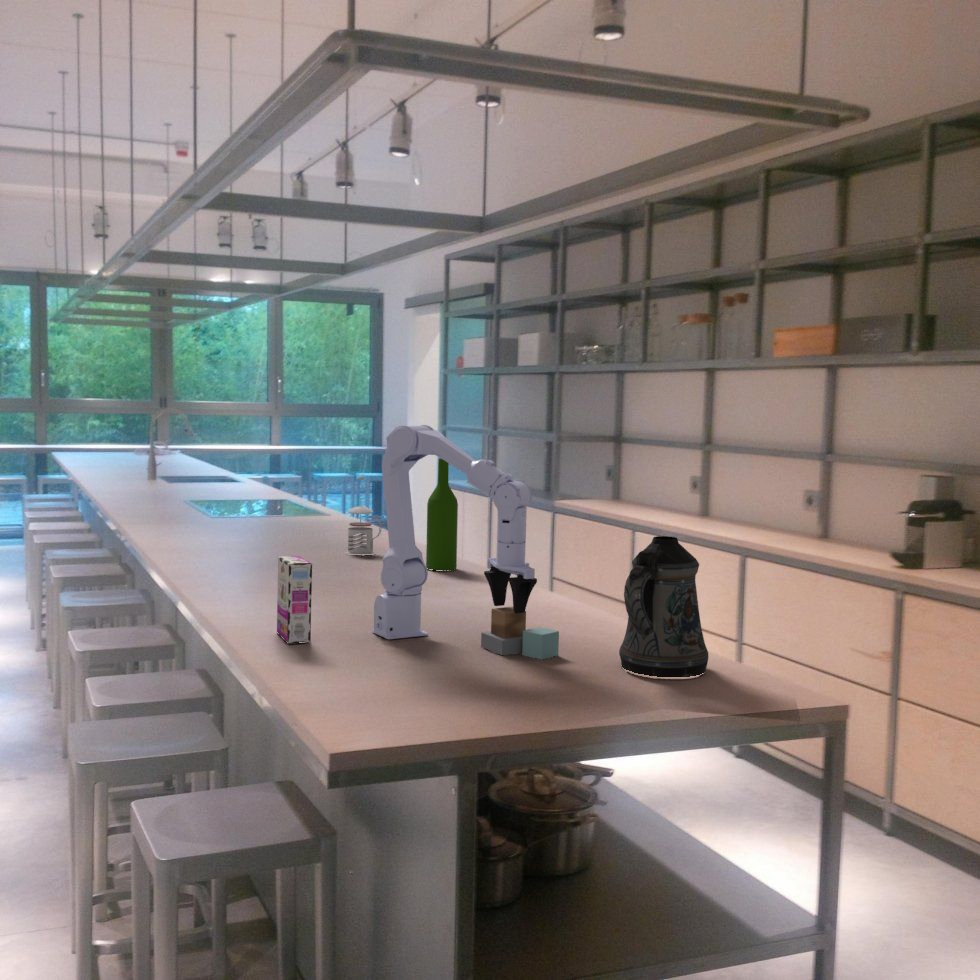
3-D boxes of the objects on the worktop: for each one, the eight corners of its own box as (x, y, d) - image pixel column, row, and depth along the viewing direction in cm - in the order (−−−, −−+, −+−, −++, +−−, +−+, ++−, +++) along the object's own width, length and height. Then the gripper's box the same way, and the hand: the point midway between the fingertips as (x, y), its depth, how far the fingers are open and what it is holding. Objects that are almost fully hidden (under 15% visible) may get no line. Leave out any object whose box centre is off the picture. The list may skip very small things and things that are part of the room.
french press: (349, 551, 337) (350, 474, 335) (384, 552, 336) (385, 475, 333) (340, 555, 327) (341, 476, 325) (376, 557, 326) (378, 477, 324)
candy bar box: (312, 643, 209) (313, 562, 208) (287, 645, 207) (288, 563, 206) (299, 631, 219) (300, 554, 218) (276, 633, 217) (276, 555, 216)
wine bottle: (462, 570, 304) (464, 459, 302) (436, 572, 299) (438, 459, 297) (446, 565, 312) (448, 457, 309) (420, 568, 307) (422, 457, 304)
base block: (501, 655, 203) (502, 640, 202) (481, 646, 209) (481, 632, 209) (536, 651, 207) (536, 636, 207) (514, 643, 214) (514, 628, 213)
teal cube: (541, 660, 200) (542, 634, 200) (522, 655, 204) (522, 630, 203) (558, 656, 204) (559, 631, 203) (539, 651, 207) (539, 627, 207)
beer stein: (708, 662, 201) (714, 534, 199) (706, 688, 183) (712, 547, 180) (623, 655, 205) (627, 530, 203) (612, 680, 186) (617, 542, 184)
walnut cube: (504, 638, 204) (504, 613, 204) (490, 633, 209) (491, 608, 208) (525, 635, 207) (526, 611, 206) (512, 630, 211) (512, 606, 211)
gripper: (548, 545, 202) (546, 614, 203) (508, 536, 215) (506, 601, 216) (517, 547, 199) (515, 617, 200) (479, 537, 211) (477, 603, 212)
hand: (509, 609), depth 207 cm, fingers open, 7 cm apart
